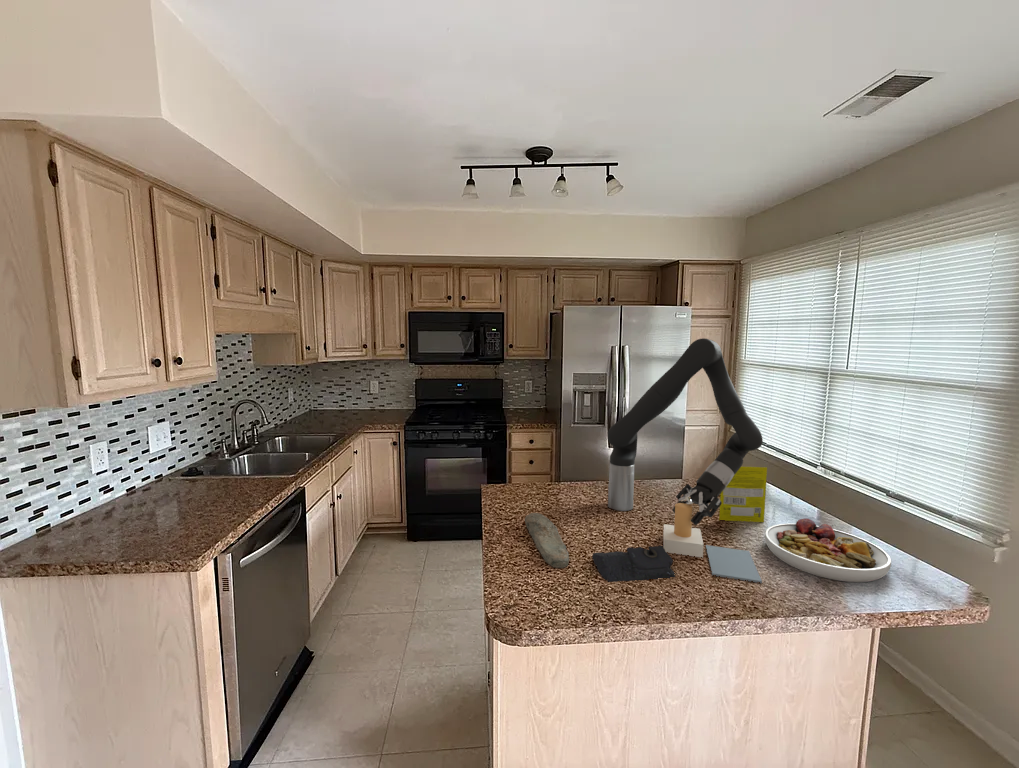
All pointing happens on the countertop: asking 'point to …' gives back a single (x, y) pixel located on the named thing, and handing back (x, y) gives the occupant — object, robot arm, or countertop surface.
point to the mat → (732, 563)
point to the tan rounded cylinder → (683, 520)
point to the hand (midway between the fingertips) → (683, 517)
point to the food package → (745, 496)
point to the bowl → (827, 552)
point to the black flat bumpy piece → (634, 564)
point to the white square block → (683, 542)
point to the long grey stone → (547, 540)
